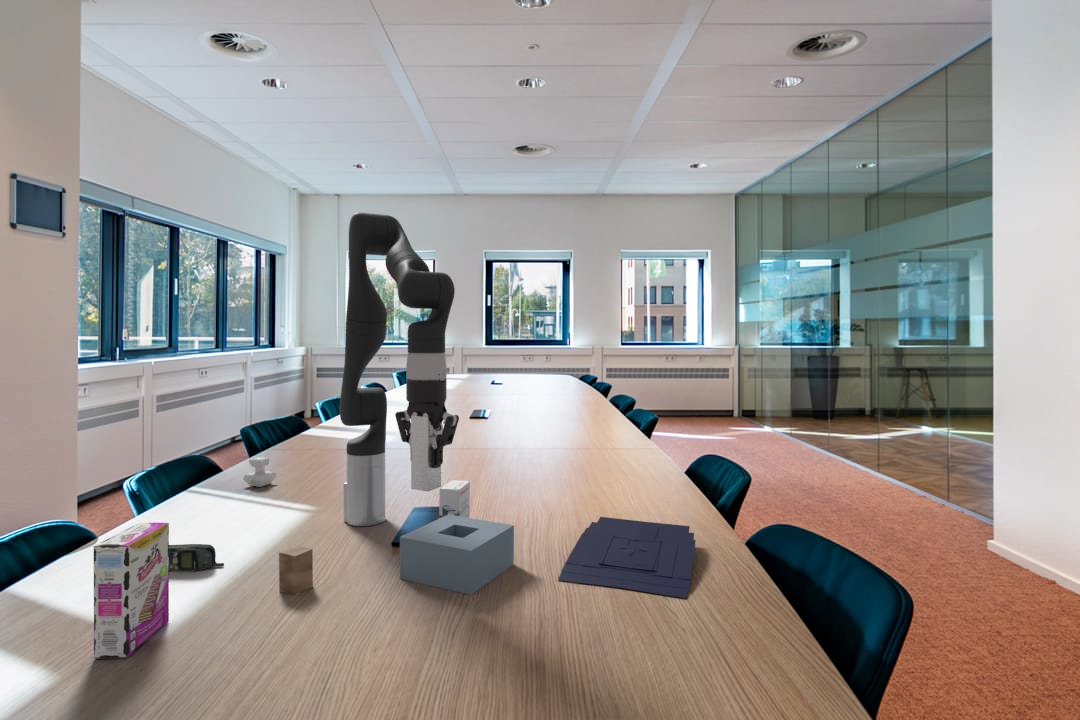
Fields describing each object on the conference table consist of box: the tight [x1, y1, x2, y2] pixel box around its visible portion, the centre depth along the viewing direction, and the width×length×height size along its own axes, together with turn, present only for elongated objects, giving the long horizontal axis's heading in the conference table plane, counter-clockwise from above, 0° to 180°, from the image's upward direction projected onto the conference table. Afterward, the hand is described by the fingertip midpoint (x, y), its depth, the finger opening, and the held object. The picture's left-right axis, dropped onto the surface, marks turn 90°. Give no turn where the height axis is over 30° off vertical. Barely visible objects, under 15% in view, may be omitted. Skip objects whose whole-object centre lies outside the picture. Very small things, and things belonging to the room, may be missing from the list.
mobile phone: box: [169, 543, 225, 573], centre depth 116 cm, size 5×3×15 cm
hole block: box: [399, 515, 515, 596], centre depth 116 cm, size 16×16×8 cm
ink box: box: [438, 479, 471, 519], centre depth 138 cm, size 9×5×12 cm, turn 168°
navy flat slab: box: [557, 516, 696, 599], centre depth 123 cm, size 24×30×4 cm
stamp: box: [243, 456, 277, 488], centre depth 181 cm, size 9×7×8 cm
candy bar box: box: [93, 522, 170, 660], centre depth 89 cm, size 11×5×16 cm, turn 5°
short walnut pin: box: [278, 545, 314, 596], centre depth 108 cm, size 4×4×7 cm
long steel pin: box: [410, 416, 442, 492], centre depth 113 cm, size 4×4×14 cm
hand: (426, 465), depth 113 cm, fingers closed on long steel pin, 4 cm apart
